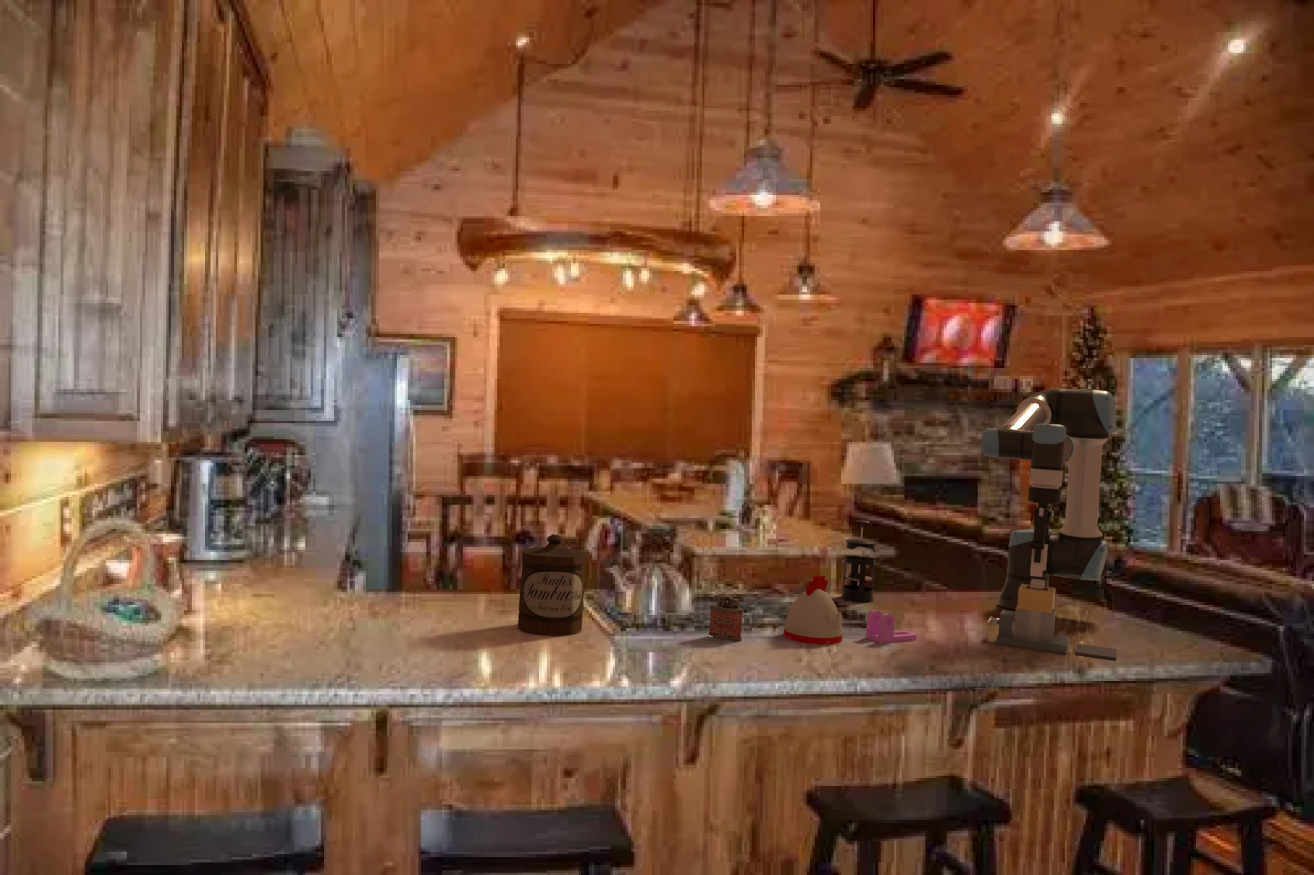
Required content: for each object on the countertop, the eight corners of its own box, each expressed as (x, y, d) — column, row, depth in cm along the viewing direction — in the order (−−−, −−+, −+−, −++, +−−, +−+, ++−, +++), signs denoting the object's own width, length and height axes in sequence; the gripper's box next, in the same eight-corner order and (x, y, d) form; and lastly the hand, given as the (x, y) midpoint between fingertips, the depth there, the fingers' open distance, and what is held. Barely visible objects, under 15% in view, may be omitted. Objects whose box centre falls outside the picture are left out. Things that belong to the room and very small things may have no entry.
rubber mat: (1077, 645, 271) (1077, 643, 271) (1116, 651, 268) (1116, 648, 268) (1075, 654, 261) (1075, 652, 261) (1116, 660, 257) (1116, 657, 257)
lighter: (743, 639, 254) (746, 597, 254) (738, 642, 251) (741, 599, 251) (711, 634, 258) (714, 592, 257) (706, 637, 255) (708, 594, 254)
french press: (877, 603, 312) (883, 523, 311) (845, 601, 312) (850, 521, 311) (867, 595, 324) (873, 518, 323) (836, 594, 324) (841, 517, 323)
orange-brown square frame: (1020, 603, 274) (1021, 583, 274) (1053, 607, 271) (1055, 587, 271) (1017, 608, 267) (1018, 588, 267) (1051, 613, 264) (1053, 592, 264)
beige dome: (853, 640, 262) (857, 578, 261) (820, 647, 252) (824, 582, 251) (805, 629, 271) (809, 569, 271) (772, 635, 261) (776, 573, 261)
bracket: (881, 643, 260) (883, 614, 260) (865, 638, 265) (867, 610, 265) (921, 640, 267) (923, 612, 267) (905, 635, 272) (907, 607, 271)
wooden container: (520, 635, 245) (526, 538, 244) (515, 621, 259) (520, 529, 258) (586, 636, 248) (591, 540, 247) (577, 622, 262) (582, 531, 261)
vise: (989, 633, 279) (994, 571, 279) (1068, 644, 272) (1073, 580, 271) (983, 642, 268) (988, 577, 268) (1066, 654, 261) (1071, 587, 260)
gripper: (1032, 483, 281) (1026, 565, 281) (1024, 487, 258) (1017, 576, 259) (1063, 486, 278) (1057, 569, 279) (1058, 490, 255) (1051, 580, 256)
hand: (1038, 573), depth 269 cm, fingers open, 13 cm apart
